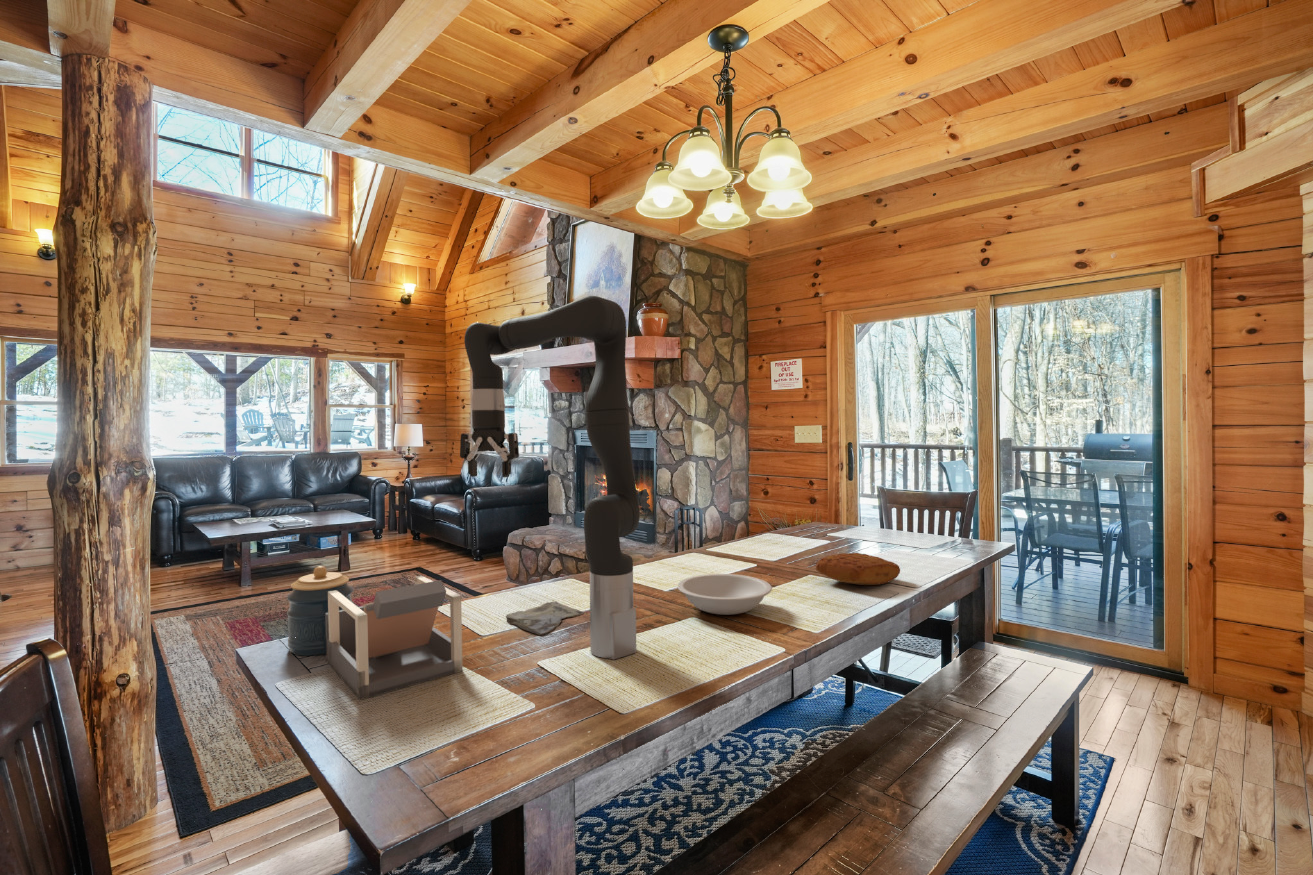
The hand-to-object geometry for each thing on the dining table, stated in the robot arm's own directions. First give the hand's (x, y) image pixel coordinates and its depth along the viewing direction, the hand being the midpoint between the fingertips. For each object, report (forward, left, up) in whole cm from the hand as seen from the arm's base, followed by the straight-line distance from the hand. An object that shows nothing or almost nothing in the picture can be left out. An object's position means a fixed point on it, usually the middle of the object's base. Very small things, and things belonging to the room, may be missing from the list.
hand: (489, 476), depth 149 cm
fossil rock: (-5, -12, -37) cm, 39 cm away
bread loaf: (-37, -99, -36) cm, 112 cm away
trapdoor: (-17, +26, -27) cm, 41 cm away
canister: (+13, +34, -36) cm, 51 cm away
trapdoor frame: (-9, +26, -36) cm, 45 cm away
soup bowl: (-29, -50, -36) cm, 68 cm away
